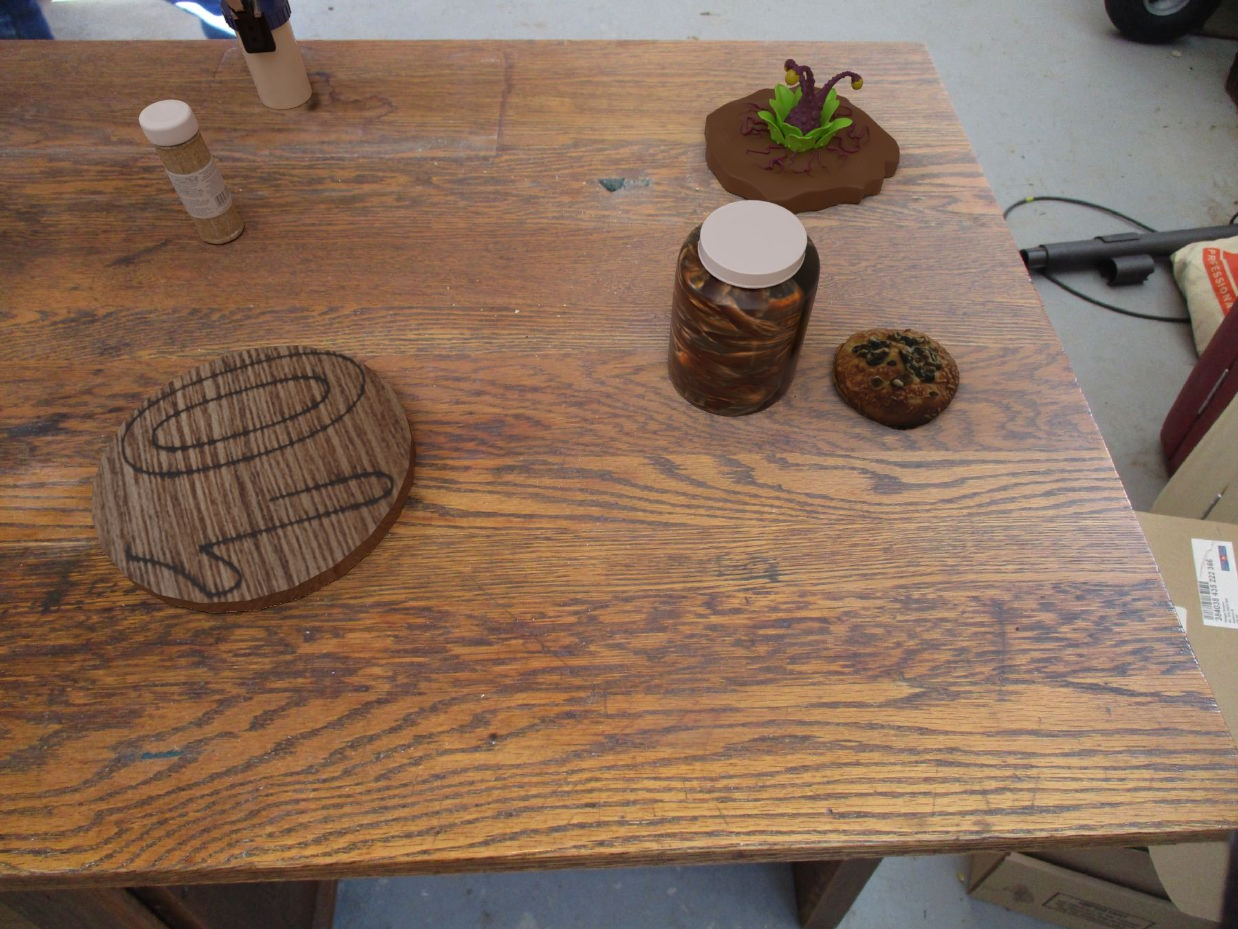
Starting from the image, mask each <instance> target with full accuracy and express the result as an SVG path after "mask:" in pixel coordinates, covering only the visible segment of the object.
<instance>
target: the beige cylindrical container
mask: <svg viewBox="0 0 1238 929" xmlns="http://www.w3.org/2000/svg"><path fill="white" fill-rule="evenodd" d="M292 26H293V25H292V22H291V21H290V19H289V20H288V21H287V22H286V23H285V24H284V25H282V26H280V27H279V28H276V29H274V30H271V33H272V35H273V38H274V41H275V44H276V50H275V52H266V53H254V54H249V53H247V52H246V51H245V48H244V46H243V43H242V40H241V38H240V35H239V32H238V31H235V30H233V31H234V34H235V36H236V39H237V42H238V45H239V47H240V49H241V53H242V55H243V58H244V60H245V63H246V65H247V68H248V71H249V73H250V76H251V78H252V81H253V83H254V86H255V89H256V92H257V94H258V97H259V100H260V102H261V103H262V104H263V105H264V106H265V107H267V108H269V109H272V110H289V109H294V108H297V107H299V106H302V105H304V104H305V103H306V102H307V101H309V100H310V98H311V97H312V95H313V89H312V85H311V82H310V80H309V76H308V72H307V70H306V67H305V64H304V61H303V57H302V55H301V52H300V48H299V45H298V42H297V39H296V36H295V33H294V29H293V27H292Z"/></svg>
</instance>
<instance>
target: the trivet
mask: <svg viewBox="0 0 1238 929" xmlns="http://www.w3.org/2000/svg"><path fill="white" fill-rule="evenodd" d="M414 441H415V440H414V437H413V433H412V429H411V425H410V421H409V417H408V415H407V412H406V409H405V407H404V405H403V403H402V401H401V400H400V399H399V397H398V395H397V394H396V393H395V391H394V390H393V388H392V387H391V385H390V384H389V382H388V381H386V380H385V378H383V377H382V376H380V375H379V374H378V373H377V372H376V371H374V370H373V369H372V368H370V367H369V366H368V365H366V364H365V363H364V362H361V361H359V360H357V359H354V358H353V357H349V356H347V355H344V354H342V353H340V352H337V351H335V350H332V349H331V350H330V349H325V348H318V347H312V346H306V345H302V344H301V345H300V344H296V345H295V344H294V345H274V346H273V345H271V346H259V347H254V348H251V349H246V350H242V351H238V352H233V353H228V354H224V355H222V356H219V357H217V358H214V359H212V360H210V361H207V362H205V363H203V364H201V365H198V366H195V367H193V368H190V369H189V370H187V371H184V372H183V373H182V374H180V375H178V376H177V377H176V378H174V379H173V380H170V381H169V382H167V383H166V384H165V385H164V386H161V387H160V388H158V389H157V390H156V391H154V392H153V393H152V394H151V395H149V396H148V397H147V398H146V400H144V401H143V402H142V403H141V404H140V405H139V406H138V407H137V408H136V409H134V411H133V412H132V413H130V415H129V416H127V418H126V419H124V421H123V422H122V423H121V425H120V427H119V429H118V430H117V431H116V433H115V434H114V436H113V437H112V439H111V440H110V441H109V443H108V445H107V446H106V448H105V449H104V451H103V453H102V456H101V459H100V461H99V465H98V467H97V470H96V473H95V476H94V478H93V482H92V485H91V487H92V488H91V523H92V524H93V527H94V530H95V533H96V536H97V539H98V541H99V544H100V547H101V549H102V552H104V554H105V555H106V556H107V557H108V559H110V560H111V562H112V563H113V564H114V565H115V566H116V567H117V568H118V569H119V571H120V572H121V573H122V574H123V575H124V576H125V577H126V579H128V580H129V581H130V582H131V583H132V584H133V585H134V586H136V588H138V589H139V588H140V589H139V590H141V589H142V590H141V591H143V592H145V591H146V592H145V593H146V594H148V595H150V594H151V595H150V596H152V595H153V597H154V596H155V597H154V598H156V597H157V598H156V599H158V598H159V599H158V600H159V601H162V600H163V601H164V602H163V601H162V602H163V603H165V602H166V603H165V604H167V603H168V604H167V605H169V604H171V605H175V606H181V607H186V608H192V609H196V610H201V611H206V612H211V613H212V612H226V611H228V612H229V611H245V610H246V611H249V610H251V611H254V610H259V609H263V608H265V607H270V606H273V607H275V606H274V605H277V606H280V605H281V604H280V603H284V604H286V603H285V602H287V603H289V602H288V601H291V602H293V601H292V600H294V601H296V600H295V599H298V600H300V599H299V598H301V597H303V596H305V595H307V594H309V593H311V594H312V593H314V592H316V591H318V590H320V589H322V588H323V587H322V586H324V585H326V584H328V583H329V584H331V583H333V582H335V581H337V580H339V579H341V578H343V577H344V576H345V575H346V574H347V573H348V572H349V571H351V570H352V569H353V568H354V567H355V566H356V565H358V564H359V563H360V562H361V561H362V560H363V559H362V558H364V557H365V556H366V555H367V554H368V553H369V552H371V551H372V550H373V549H374V550H376V548H377V547H378V546H379V545H380V543H381V542H382V541H383V539H384V538H385V536H386V535H387V534H388V533H389V531H390V530H391V529H392V527H393V526H394V524H395V523H396V522H397V520H398V519H399V518H400V516H401V513H402V511H403V508H404V506H405V503H406V501H407V499H408V496H409V494H410V491H411V489H412V486H413V484H414V477H415V476H414V475H415V464H416V454H417V450H416V449H417V448H416V445H415V442H414ZM395 521H396V522H395ZM383 537H384V538H383ZM382 538H383V539H382ZM380 541H381V542H380ZM379 542H380V543H379ZM377 545H378V546H377ZM376 546H377V547H376ZM374 550H373V551H374ZM373 551H372V552H373ZM372 552H371V553H372ZM368 555H369V554H368ZM368 555H367V556H368ZM367 556H366V557H367ZM366 557H365V558H366ZM365 558H364V559H365ZM361 559H362V560H361ZM360 560H361V561H360ZM359 561H360V562H359ZM358 562H359V563H358ZM357 563H358V564H357ZM355 564H356V565H355ZM354 565H355V566H354ZM353 566H354V567H353ZM352 567H353V568H352ZM351 568H352V569H351ZM350 569H351V570H350ZM347 571H348V572H347ZM346 572H347V573H346ZM345 573H346V574H345ZM344 574H345V575H344ZM340 577H341V578H340ZM338 578H339V579H338ZM336 579H337V580H336ZM334 580H335V581H334ZM332 581H333V582H332ZM330 582H331V583H330ZM329 584H328V585H329ZM326 586H327V585H326ZM321 587H322V588H321ZM324 587H325V586H324ZM309 595H310V594H309ZM307 596H308V595H307ZM305 597H306V596H305ZM303 598H304V597H303ZM301 599H302V598H301ZM279 604H280V605H279ZM171 605H170V606H171ZM175 606H174V607H175ZM270 608H271V607H270ZM263 610H264V609H263ZM259 611H260V610H259ZM254 612H255V611H254Z"/></svg>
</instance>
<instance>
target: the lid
mask: <svg viewBox="0 0 1238 929" xmlns="http://www.w3.org/2000/svg"><path fill="white" fill-rule="evenodd" d="M249 2H250V0H249ZM258 2H259V6H260V10H261V12H265V15H266V18H267V21H268V24H269V27H270V30H274V29H276V28H279V27H280V26H282V25H284V24H285V23H286V22H287V21H288V20H290V18H291V15H292V10H291V9H292V8H291V6H290V2H289V0H258ZM219 3H220V5H219V6H220V9H221V14H222V17H223V18H224V21H225V24H227V26H228V28H230V29H231V30H233V31H234V30H235V31H238V30H237V27H236V25H235V22H234V19H233V17H232V15H231V11H230V9H229V7H228V6H229V5H228V3H227V2H226V1H225V0H220V2H219ZM250 3H251V2H250ZM235 31H234V32H235Z"/></svg>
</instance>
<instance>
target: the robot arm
mask: <svg viewBox="0 0 1238 929" xmlns="http://www.w3.org/2000/svg"><path fill="white" fill-rule="evenodd" d="M225 1H226V2H227V3H228V5H229V6H228V7H229V9H230V11H231V15H232V17H233V19H234V22H235V25H236V27H237V30H238V32H239V35H240V38H241V40H242V43H243V46H244V48H245V51H246V52H247V53H249V54H254V53H266V52H275V50H276V44H275V41H274V38H273V35H272V33H271V30H270V27H269V24H268V21H267V18H266V15H265V12H261V10H260V6H259V2H258V0H250V2H251V3H250V2H249V0H225Z"/></svg>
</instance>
